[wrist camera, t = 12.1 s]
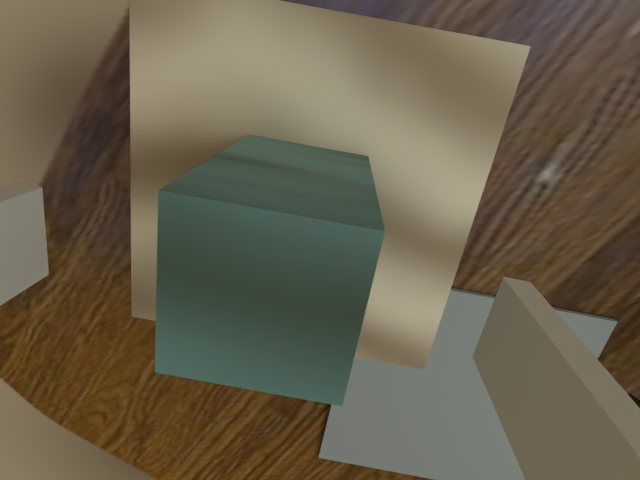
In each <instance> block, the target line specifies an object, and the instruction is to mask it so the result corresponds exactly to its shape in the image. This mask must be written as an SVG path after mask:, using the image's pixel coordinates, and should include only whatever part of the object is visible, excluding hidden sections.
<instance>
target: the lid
mask: <svg viewBox="0 0 640 480" xmlns="http://www.w3.org/2000/svg"><path fill="white" fill-rule="evenodd" d="M129 18H130V165H131V311H132V317H137V318H143V319H148V320H154V321H156V334H155V372H156V373H161V374H167V375H172V376H178V377H183V378H189V379H194V380H200V381H205V382H211V383H216V384H222V385H227V386H233V387H238V388H244V389H249V390H255V391H260V392H266V393H271V394H277V395H282V396H288V397H293V398H299V399H304V400H310V401H315V402H321V403H327V404H332V405H338V406H342V405H343V401H344V397H345V393H346V389H347V385H348V381H349V377H350V373H351V369H352V364H353V360H354V357H357V358H363V359H368V360H374V361H380V362H385V363H391V364H396V365H402V366H407V367H413V368H418V369H425V366H426V363H427V360H428V357H429V354H430V351H431V348H432V345H433V342H434V339H435V336H436V332H437V329H438V326H439V323H440V320H441V317H442V314H443V311H444V308H445V305H446V302H447V299H448V296H449V293H450V290H451V287H452V284H453V281H454V278H455V275H456V272H457V269H458V266H459V263H460V260H461V257H462V254H463V250H464V247H465V244H466V241H467V238H468V235H469V232H470V229H471V226H472V223H473V220H474V217H475V214H476V211H477V208H478V205H479V202H480V199H481V196H482V193H483V190H484V187H485V184H486V181H487V178H488V175H489V172H490V168H491V165H492V162H493V159H494V156H495V153H496V150H497V147H498V144H499V141H500V138H501V135H502V132H503V129H504V126H505V123H506V120H507V117H508V114H509V111H510V108H511V105H512V102H513V99H514V96H515V93H516V89H517V86H518V83H519V80H520V77H521V74H522V71H523V68H524V65H525V62H526V59H527V56H528V53H529V50H530V47H531V46H526V45H521V44H515V43H510V42H504V41H499V40H493V39H488V38H482V37H477V36H471V35H466V34H460V33H455V32H449V31H444V30H438V29H433V28H428V27H422V26H417V25H411V24H406V23H400V22H395V21H389V20H384V19H378V18H373V17H367V16H362V15H356V14H351V13H345V12H340V11H334V10H329V9H323V8H318V7H312V6H307V5H301V4H296V3H290V2H285V1H279V0H129Z"/></svg>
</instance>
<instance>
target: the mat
mask: <svg viewBox="0 0 640 480" xmlns="http://www.w3.org/2000/svg"><path fill="white" fill-rule="evenodd" d="M495 297H496V296H492V295H487V294H482V293H477V292H471V291H466V290H461V289H456V288H451V290H450V293H449V296H448V299H447V302H446V305H445V308H444V311H443V314H442V317H441V320H440V323H439V326H438V329H437V332H436V336H435V339H434V342H433V345H432V348H431V351H430V354H429V357H428V360H427V363H426V366H425V369H418V368H413V367H407V366H402V365H396V364H391V363H385V362H380V361H374V360H368V359H363V358H357V357H354V360H353V364H352V369H351V373H350V377H349V381H348V385H347V389H346V393H345V397H344V401H343V405H342V406H338V405H332V404H331V406H330V411H329V415H328V419H327V423H326V427H325V431H324V435H323V439H322V443H321V447H320V451H319V458H323V459H328V460H333V461H339V462H344V463H349V464H355V465H360V466H365V467H370V468H376V469H381V470H386V471H392V472H397V473H402V474H408V475H413V476H418V477H424V478H429V479H434V480H525V478H524V476H523V473H522V471H521V469H520V466H519V464H518V462H517V459H516V457H515V455H514V452H513V450H512V448H511V445H510V443H509V441H508V438H507V436H506V434H505V431H504V429H503V427H502V424H501V422H500V420H499V417H498V415H497V413H496V410H495V408H494V406H493V403H492V401H491V399H490V396H489V394H488V392H487V389H486V387H485V385H484V383H483V380H482V378H481V376H480V373H479V371H478V369H477V366H476V364H475V362H474V359H473V354H474V351H475V349H476V346H477V344H478V341H479V338H480V336H481V333H482V331H483V328H484V325H485V323H486V320H487V318H488V315H489V312H490V310H491V307H492V305H493V302H494V299H495ZM552 308H553V309H554V310H555V311H556V312H557V313H558V315H559V316H560V317H561V318H562V319H563V320H564V322H565V323H566V324H567V325H568V326H569V327H570V328H571V330H572V331H573V332H574V333H575V334H576V335H577V337H578V338H579V339H580V340H581V341H582V342H583V343H584V345H585V346H586V347H587V348H588V349H589V350H590V351H591V353H592V354H593V355H594V356H595V357H596V358H597V359H598V357H599V356H600V354H601V352H602V350H603V348H604V346H605V344H606V342H607V341H608V339H609V337H610V335H611V333H612V331H613V329H614V328H615V326H616V324H617V321H616V320H615V319H613V318H608V317H603V316H597V315H592V314H587V313H582V312H576V311H571V310H566V309H561V308H555V307H552Z"/></svg>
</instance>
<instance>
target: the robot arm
mask: <svg viewBox="0 0 640 480" xmlns="http://www.w3.org/2000/svg"><path fill="white" fill-rule="evenodd" d="M47 275H49V271H48V258H47V244H46V231H45V218H44V204H43V191H42V187H37V186H32V185H26V184H22V183H16V182H15V183H12V184H8V185H5V186H2V187H0V306H1V305H2V304H4V303H5V302H7V301H8V300H10V299H11V298H13V297H15V296H16V295H18V294H19V293H21V292H22V291H24V290H25V289H27V288H28V287H30V286H32V285H33V284H35V283H36V282H38V281H39V280H41V279H42V278H44V277H45V276H47ZM473 359H474V362H475V364H476V366H477V369H478V371H479V373H480V376H481V378H482V380H483V383H484V385H485V387H486V389H487V392H488V394H489V396H490V399H491V401H492V403H493V406H494V408H495V410H496V413H497V415H498V417H499V420H500V422H501V424H502V427H503V429H504V431H505V434H506V436H507V438H508V441H509V443H510V445H511V448H512V450H513V452H514V455H515V457H516V459H517V462H518V464H519V466H520V469H521V471H522V473H523V476H524V478H525V480H640V400H638V399H637V398H636V397H634V396H633V395H632V394H628V393H626V392H625V391H624V389H623V388H622V387H621V386H620V385H619V384H618V383H617V381H616V380H615V379H614V378H613V377H612V376H611V374H610V373H609V372H608V371H607V370H606V369H605V368H604V366H603V365H602V364H601V363H600V362H599V361H598V360H597V358H596V357H595V356H594V355H593V354H592V353H591V351H590V350H589V349H588V348H587V347H586V346H585V345H584V343H583V342H582V341H581V340H580V339H579V338H578V337H577V335H576V334H575V333H574V332H573V331H572V330H571V328H570V327H569V326H568V325H567V324H566V323H565V322H564V320H563V319H562V318H561V317H560V316H559V315H558V313H557V312H556V311H555V310H554V309H553V308H552V307H551V305H550V304H549V303H548V302H547V301H546V300H545V299H544V297H543V296H542V295H541V294H540V293H539V292H538V290H537V289H536V288H535V287H534V286H533V285H532V284H531V282H527V281H522V280H517V279H512V278H507V277H503V279H502V281H501V284H500V287H499V289H498V292H497V294H496V297H495V299H494V302H493V305H492V307H491V310H490V312H489V315H488V318H487V320H486V323H485V325H484V328H483V331H482V333H481V336H480V338H479V341H478V344H477V346H476V349H475V351H474V354H473Z"/></svg>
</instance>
